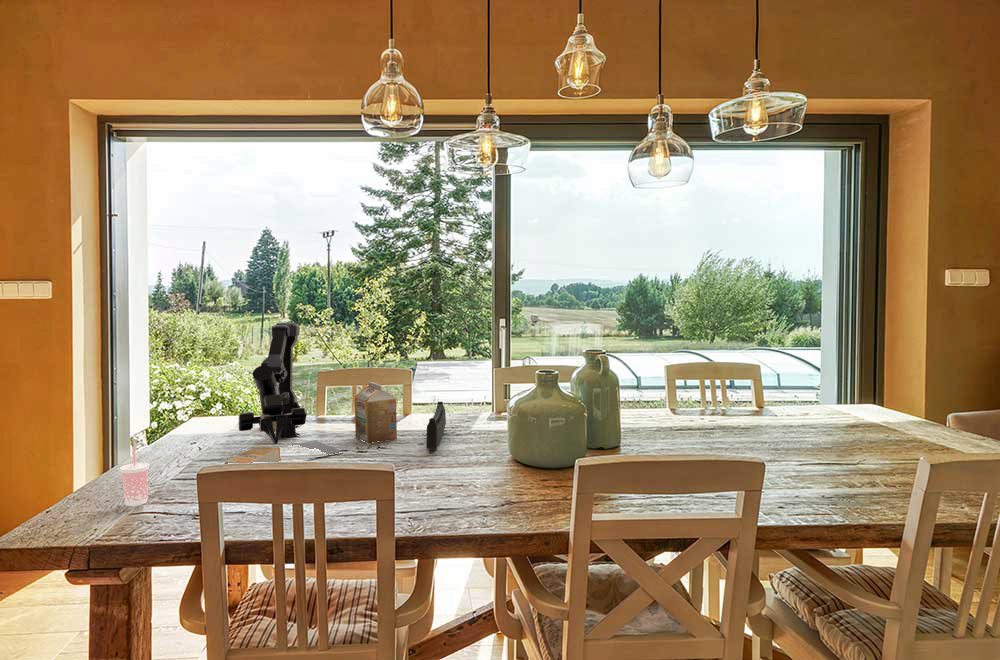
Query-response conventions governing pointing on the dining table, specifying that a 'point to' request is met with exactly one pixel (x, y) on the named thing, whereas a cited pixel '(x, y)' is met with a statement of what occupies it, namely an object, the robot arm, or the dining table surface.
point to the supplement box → (257, 456)
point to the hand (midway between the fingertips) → (276, 443)
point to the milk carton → (375, 414)
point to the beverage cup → (135, 482)
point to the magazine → (436, 427)
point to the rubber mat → (319, 447)
